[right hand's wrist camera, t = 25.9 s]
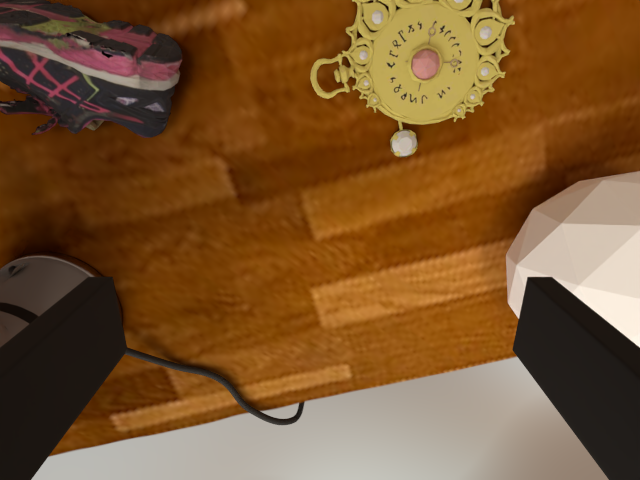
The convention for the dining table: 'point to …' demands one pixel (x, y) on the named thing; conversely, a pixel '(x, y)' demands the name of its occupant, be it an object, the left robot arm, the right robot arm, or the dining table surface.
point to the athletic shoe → (86, 68)
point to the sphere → (585, 248)
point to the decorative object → (421, 60)
